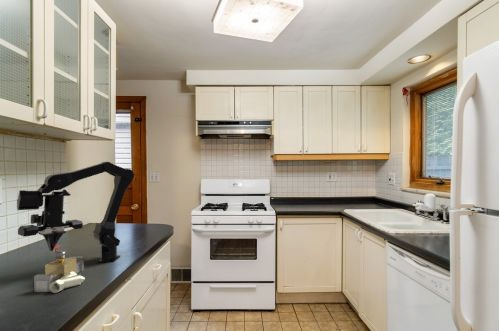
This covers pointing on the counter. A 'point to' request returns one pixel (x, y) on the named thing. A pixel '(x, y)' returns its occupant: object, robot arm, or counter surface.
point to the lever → (59, 252)
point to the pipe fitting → (66, 282)
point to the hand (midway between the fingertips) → (51, 250)
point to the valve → (57, 272)
